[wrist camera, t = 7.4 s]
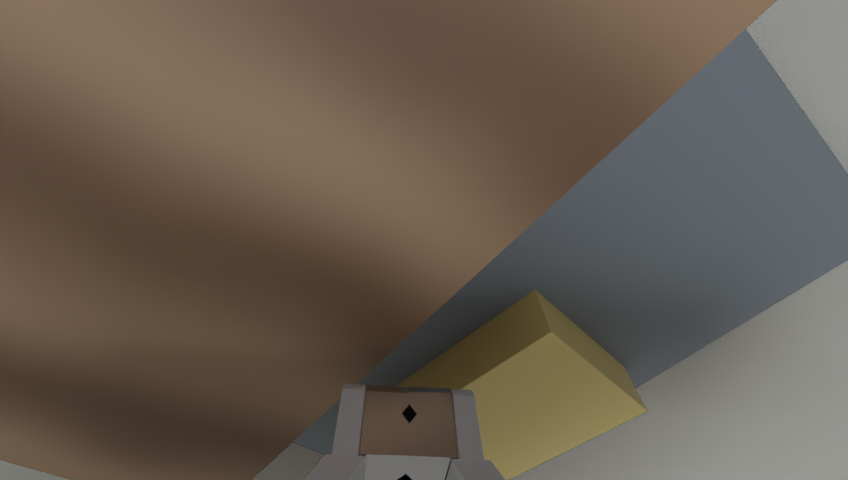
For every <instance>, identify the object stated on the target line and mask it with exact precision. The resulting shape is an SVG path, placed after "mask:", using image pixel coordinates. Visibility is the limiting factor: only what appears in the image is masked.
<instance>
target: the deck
mask: <svg viewBox="0 0 848 480" xmlns="http://www.w3.org/2000/svg"><path fill="white" fill-rule="evenodd" d="M776 1H777V0H0V460H2V461H6V462H9V463H13V464H16V465H20V466H24V467H27V468H31V469H35V470H38V471H42V472H46V473H49V474H53V475H57V476H60V477H64V478H67V479H71V480H252V479H253V478H254V477H255V476H256V475H257V474H258V473H259V472H260V471H261V470H263V469H264V468H265V467H266V466H267V465H268V464H269V463H270V462H271V461H272V460H274V459H275V458H276V457H277V456H278V455H279V454H280V453H281V452H282V451H283V450H284V449H286V448H287V447H288V446H289V445H290V444H291V443H292V442H293V441H294V440H295V439H297V438H298V437H299V436H300V435H301V434H302V433H303V432H304V431H305V430H306V429H307V428H309V427H310V426H311V425H312V424H313V423H314V422H315V421H316V420H317V419H318V418H320V417H321V416H322V415H323V414H324V413H325V412H326V411H327V410H328V409H329V408H331V407H332V406H333V405H334V404H335V403H336V402H337V401H338V400H339V399H340V398H341V393H342V389H343V386H344V383H348V384H357V383H358V382H359V381H360V380H361V379H362V378H363V377H365V376H366V375H367V374H368V373H369V372H370V371H371V370H372V369H373V368H374V367H375V366H377V365H378V364H379V363H380V362H381V361H382V360H383V359H384V358H385V357H386V356H388V355H389V354H390V353H391V352H392V351H393V350H394V349H395V348H396V347H397V346H398V345H400V344H401V343H402V342H403V341H404V340H405V339H406V338H407V337H408V336H409V335H411V334H412V333H413V332H414V331H415V330H416V329H417V328H418V327H419V326H420V325H422V324H423V323H424V322H425V321H426V320H427V319H428V318H429V317H430V316H431V315H432V314H434V313H435V312H436V311H437V310H438V309H439V308H440V307H441V306H442V305H443V304H445V303H446V302H447V301H448V300H449V299H450V298H451V297H452V296H453V295H454V294H456V293H457V292H458V291H459V290H460V289H461V288H462V287H463V286H464V285H465V284H466V283H468V282H469V281H470V280H471V279H472V278H473V277H474V276H475V275H476V274H477V273H479V272H480V271H481V270H482V269H483V268H484V267H485V266H486V265H487V264H488V263H489V262H491V261H492V260H493V259H494V258H495V257H496V256H497V255H498V254H499V253H500V252H502V251H503V250H504V249H505V248H506V247H507V246H508V245H509V244H510V243H511V242H513V241H514V240H515V239H516V238H517V237H518V236H519V235H520V234H521V233H522V232H523V231H525V230H526V229H527V228H528V227H529V226H530V225H531V224H532V223H533V222H534V221H536V220H537V219H538V218H539V217H540V216H541V215H542V214H543V213H544V212H545V211H547V210H548V209H549V208H550V207H551V206H552V205H553V204H554V203H555V202H556V201H557V200H559V199H560V198H561V197H562V196H563V195H564V194H565V193H566V192H567V191H568V190H570V189H571V188H572V187H573V186H574V185H575V184H576V183H577V182H578V181H579V180H580V179H582V178H583V177H584V176H585V175H586V174H587V173H588V172H589V171H590V170H591V169H593V168H594V167H595V166H596V165H597V164H598V163H599V162H600V161H601V160H602V159H604V158H605V157H606V156H607V155H608V154H609V153H610V152H611V151H612V150H613V149H614V148H616V147H617V146H618V145H619V144H620V143H621V142H622V141H623V140H624V139H625V138H627V137H628V136H629V135H630V134H631V133H632V132H633V131H634V130H635V129H636V128H638V127H639V126H640V125H641V124H642V123H643V122H644V121H645V120H646V119H647V118H648V117H650V116H651V115H652V114H653V113H654V112H655V111H656V110H657V109H658V108H659V107H661V106H662V105H663V104H664V103H665V102H666V101H667V100H668V99H669V98H670V97H671V96H673V95H674V94H675V93H676V92H677V91H678V90H679V89H680V88H681V87H682V86H684V85H685V84H686V83H687V82H688V81H689V80H690V79H691V78H692V77H693V76H695V75H696V74H697V73H698V72H699V71H700V70H701V69H702V68H703V67H704V66H705V65H707V64H708V63H709V62H710V61H711V60H712V59H713V58H714V57H715V56H716V55H718V54H719V53H720V52H721V51H722V50H723V49H724V48H725V47H726V46H727V45H729V44H730V43H731V42H732V41H733V40H734V39H735V38H736V37H737V36H738V35H739V34H741V33H742V32H743V31H744V30H745V29H746V28H747V27H748V26H749V25H750V24H752V23H753V22H754V21H755V20H756V19H757V18H758V17H759V16H760V15H761V14H762V13H764V12H765V11H766V10H767V9H768V8H769V7H770V6H771V5H772V4H773V3H775V2H776Z"/></svg>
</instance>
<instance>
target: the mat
mask: <svg viewBox="0 0 848 480" xmlns="http://www.w3.org/2000/svg"><path fill="white" fill-rule="evenodd" d="M847 260H848V174H847V173H846V171H845V170H844V168H843V167H842V165H841V164H840V163H839V161H838V160H837V158H836V157H835V155H834V154H833V153H832V151H831V150H830V148H829V147H828V146H827V144H826V143H825V141H824V140H823V138H822V137H821V136H820V134H819V133H818V131H817V130H816V128H815V127H814V126H813V124H812V123H811V121H810V120H809V118H808V117H807V116H806V114H805V113H804V111H803V110H802V109H801V107H800V106H799V104H798V103H797V101H796V100H795V99H794V97H793V96H792V94H791V93H790V91H789V90H788V89H787V87H786V86H785V84H784V83H783V81H782V80H781V79H780V77H779V76H778V74H777V73H776V71H775V70H774V69H773V67H772V66H771V64H770V63H769V62H768V60H767V59H766V57H765V56H764V54H763V53H762V52H761V50H760V49H759V47H758V46H757V44H756V43H755V42H754V40H753V39H752V37H751V36H750V34H749V33H748V32H747V30H746V29H745V30H744V31H743V32H742V33H741V34H739V35H738V36H737V37H736V38H735V39H734V40H733V41H732V42H731V43H730V44H729V45H727V46H726V47H725V48H724V49H723V50H722V51H721V52H720V53H719V54H718V55H716V56H715V57H714V58H713V59H712V60H711V61H710V62H709V63H708V64H707V65H705V66H704V67H703V68H702V69H701V70H700V71H699V72H698V73H697V74H696V75H695V76H693V77H692V78H691V79H690V80H689V81H688V82H687V83H686V84H685V85H684V86H682V87H681V88H680V89H679V90H678V91H677V92H676V93H675V94H674V95H673V96H671V97H670V98H669V99H668V100H667V101H666V102H665V103H664V104H663V105H662V106H661V107H659V108H658V109H657V110H656V111H655V112H654V113H653V114H652V115H651V116H650V117H648V118H647V119H646V120H645V121H644V122H643V123H642V124H641V125H640V126H639V127H638V128H636V129H635V130H634V131H633V132H632V133H631V134H630V135H629V136H628V137H627V138H625V139H624V140H623V141H622V142H621V143H620V144H619V145H618V146H617V147H616V148H614V149H613V150H612V151H611V152H610V153H609V154H608V155H607V156H606V157H605V158H604V159H602V160H601V161H600V162H599V163H598V164H597V165H596V166H595V167H594V168H593V169H591V170H590V171H589V172H588V173H587V174H586V175H585V176H584V177H583V178H582V179H580V180H579V181H578V182H577V183H576V184H575V185H574V186H573V187H572V188H571V189H570V190H568V191H567V192H566V193H565V194H564V195H563V196H562V197H561V198H560V199H559V200H557V201H556V202H555V203H554V204H553V205H552V206H551V207H550V208H549V209H548V210H547V211H545V212H544V213H543V214H542V215H541V216H540V217H539V218H538V219H537V220H536V221H534V222H533V223H532V224H531V225H530V226H529V227H528V228H527V229H526V230H525V231H523V232H522V233H521V234H520V235H519V236H518V237H517V238H516V239H515V240H514V241H513V242H511V243H510V244H509V245H508V246H507V247H506V248H505V249H504V250H503V251H502V252H500V253H499V254H498V255H497V256H496V257H495V258H494V259H493V260H492V261H491V262H489V263H488V264H487V265H486V266H485V267H484V268H483V269H482V270H481V271H480V272H479V273H477V274H476V275H475V276H474V277H473V278H472V279H471V280H470V281H469V282H468V283H466V284H465V285H464V286H463V287H462V288H461V289H460V290H459V291H458V292H457V293H456V294H454V295H453V296H452V297H451V298H450V299H449V300H448V301H447V302H446V303H445V304H443V305H442V306H441V307H440V308H439V309H438V310H437V311H436V312H435V313H434V314H432V315H431V316H430V317H429V318H428V319H427V320H426V321H425V322H424V323H423V324H422V325H420V326H419V327H418V328H417V329H416V330H415V331H414V332H413V333H412V334H411V335H409V336H408V337H407V338H406V339H405V340H404V341H403V342H402V343H401V344H400V345H398V346H397V347H396V348H395V349H394V350H393V351H392V352H391V353H390V354H389V355H388V356H386V357H385V358H384V359H383V360H382V361H381V362H380V363H379V364H378V365H377V366H375V367H374V368H373V369H372V370H371V371H370V372H369V373H368V374H367V375H366V376H365V377H363V378H362V379H361V380H360V381H359V382H358V383H357V384H366V386H367V385H377V386H391V387H395V386H397V385H398V384H400V383H401V382H402V381H404V380H405V379H407V378H408V377H410V376H411V375H412V374H414V373H415V372H417V371H418V370H420V369H421V368H423V367H424V366H425V365H427V364H428V363H430V362H431V361H433V360H434V359H435V358H437V357H438V356H440V355H441V354H443V353H444V352H446V351H447V350H448V349H450V348H451V347H453V346H454V345H456V344H457V343H458V342H460V341H461V340H463V339H464V338H466V337H467V336H469V335H470V334H471V333H473V332H474V331H476V330H477V329H479V328H480V327H481V326H483V325H484V324H486V323H487V322H489V321H490V320H492V319H493V318H494V317H496V316H497V315H499V314H500V313H502V312H503V311H504V310H506V309H507V308H509V307H510V306H512V305H513V304H515V303H516V302H517V301H519V300H520V299H522V298H523V297H525V296H526V295H527V294H529V293H530V292H532V291H533V290H536V291H538V292H539V293H540V294H541V295H542V296H543V297H544V298H546V299H547V300H548V301H549V302H550V303H551V304H552V305H554V306H555V307H556V308H557V309H558V310H559V311H560V312H562V313H563V314H564V315H565V316H566V317H567V318H569V319H570V320H571V321H572V322H573V323H574V324H575V325H577V326H578V327H579V328H580V329H581V330H582V331H583V332H585V333H586V334H587V335H588V336H589V337H590V338H591V339H593V340H594V341H595V342H596V343H597V344H598V345H600V346H601V347H602V348H603V349H604V350H605V351H606V352H608V353H609V354H610V355H611V356H612V357H613V358H614V359H616V360H617V361H618V362H619V363H620V364H621V365H622V366H624V368H625V370H626V372H627V373H628V375H629V377H630V379H631V381H632V383H633V385H634V387H635V388H636V387H638V386H640V385H641V384H643V383H645V382H646V381H648V380H650V379H651V378H653V377H655V376H656V375H658V374H660V373H661V372H663V371H665V370H666V369H668V368H670V367H671V366H673V365H675V364H676V363H678V362H680V361H681V360H683V359H685V358H686V357H688V356H689V355H691V354H693V353H694V352H696V351H698V350H699V349H701V348H703V347H704V346H706V345H708V344H709V343H711V342H713V341H714V340H716V339H718V338H719V337H721V336H723V335H724V334H726V333H728V332H729V331H731V330H733V329H734V328H736V327H738V326H739V325H741V324H743V323H744V322H746V321H747V320H749V319H751V318H752V317H754V316H756V315H757V314H759V313H761V312H762V311H764V310H766V309H767V308H769V307H771V306H772V305H774V304H776V303H777V302H779V301H781V300H782V299H784V298H786V297H787V296H789V295H791V294H792V293H794V292H796V291H797V290H799V289H801V288H802V287H804V286H805V285H807V284H809V283H810V282H812V281H814V280H815V279H817V278H819V277H820V276H822V275H824V274H825V273H827V272H829V271H830V270H832V269H834V268H835V267H837V266H839V265H840V264H842V263H844V262H845V261H847ZM340 400H341V398H340V399H339V400H338V401H337V402H336V403H335V404H334V405H333V406H332V407H331V408H329V409H328V410H327V411H326V412H325V413H324V414H323V415H322V416H321V417H320V418H318V419H317V420H316V421H315V422H314V423H313V424H312V425H311V426H310V427H309V428H307V429H306V430H305V431H304V432H303V433H302V434H301V435H300V436H299V437H298V438H297V439H295V440H294V441H293V443H295V444H298V445H301V446H303V447H306V448H309V449H311V450H314V451H317V452H319V453H322V454H332V448H333V442H334V436H335V430H336V424H337V418H338V412H339V406H340Z"/></svg>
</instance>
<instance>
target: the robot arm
mask: <svg viewBox="0 0 848 480" xmlns="http://www.w3.org/2000/svg"><path fill="white" fill-rule="evenodd" d="M304 480H505V478H504V477H503V476H502V475H501V473H500V472H499V471H498V469H497V468H496V467H495V465H494V464H493V463H492V461H490V460H484V455H483V448H482V441H481V435H480V428H479V422H478V415H477V408H476V402H475V395H474V393H473V391H472V390H456V389H450V388H423V387H408V388H405V387H391V386H377V385H367V386H366V384H348V383H344V386H343V389H342V393H341V400H340V406H339V412H338V418H337V424H336V430H335V436H334V442H333V448H332V454H324V456H323V457H322V458H321V459H320V460H319V462H318V463H317V464H316V465H315V466H314V468H313V469H312V470H311V471H310V472H309V474H308V475H307V476H306V477H305V479H304Z"/></svg>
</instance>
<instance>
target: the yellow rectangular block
mask: <svg viewBox="0 0 848 480" xmlns="http://www.w3.org/2000/svg"><path fill="white" fill-rule="evenodd" d="M395 387H405V388H408V387H423V388H450V389H456V390H472V391H473V393H474V395H475V402H476V408H477V415H478V422H479V428H480V435H481V441H482V448H483V455H484V460H490V461H492V463H493V464H494V465H495V467H496V468H497V469H498V471H499V472H500V473H501V475H502V476H503V477H504V478H505V480H509V479H511V478H513V477H515V476H517V475H519V474H521V473H523V472H525V471H527V470H529V469H531V468H533V467H535V466H537V465H539V464H541V463H543V462H545V461H547V460H549V459H551V458H553V457H555V456H557V455H559V454H561V453H563V452H565V451H568V450H570V449H572V448H574V447H576V446H578V445H580V444H582V443H584V442H586V441H588V440H590V439H592V438H594V437H596V436H598V435H600V434H602V433H604V432H606V431H608V430H610V429H612V428H614V427H616V426H618V425H620V424H622V423H624V422H626V421H628V420H630V419H632V418H634V417H636V416H638V415H640V414H642V413H644V412H646V411H647V409H646V407H645V405H644V403H643V402H642V400H641V398H640V396H639V394H638V392H637V390H636V388H635V387H634V385H633V383H632V381H631V379H630V377H629V375H628V373H627V372H626V370H625V368H624V366H622V365H621V364H620V363H619V362H618V361H617V360H616V359H614V358H613V357H612V356H611V355H610V354H609V353H608V352H606V351H605V350H604V349H603V348H602V347H601V346H600V345H598V344H597V343H596V342H595V341H594V340H593V339H591V338H590V337H589V336H588V335H587V334H586V333H585V332H583V331H582V330H581V329H580V328H579V327H578V326H577V325H575V324H574V323H573V322H572V321H571V320H570V319H569V318H567V317H566V316H565V315H564V314H563V313H562V312H560V311H559V310H558V309H557V308H556V307H555V306H554V305H552V304H551V303H550V302H549V301H548V300H547V299H546V298H544V297H543V296H542V295H541V294H540V293H539V292H538V291H536V290H533V291H532V292H530V293H529V294H527V295H526V296H525V297H523V298H522V299H520V300H519V301H517V302H516V303H515V304H513V305H512V306H510V307H509V308H507V309H506V310H504V311H503V312H502V313H500V314H499V315H497V316H496V317H494V318H493V319H492V320H490V321H489V322H487V323H486V324H484V325H483V326H481V327H480V328H479V329H477V330H476V331H474V332H473V333H471V334H470V335H469V336H467V337H466V338H464V339H463V340H461V341H460V342H458V343H457V344H456V345H454V346H453V347H451V348H450V349H448V350H447V351H446V352H444V353H443V354H441V355H440V356H438V357H437V358H435V359H434V360H433V361H431V362H430V363H428V364H427V365H425V366H424V367H423V368H421V369H420V370H418V371H417V372H415V373H414V374H412V375H411V376H410V377H408V378H407V379H405V380H404V381H402V382H401V383H400V384H398V385H397V386H395Z"/></svg>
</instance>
